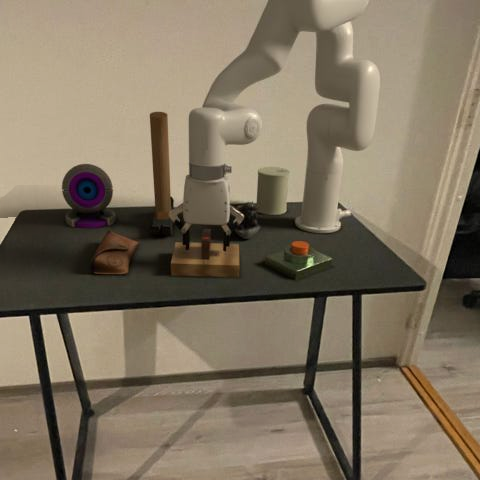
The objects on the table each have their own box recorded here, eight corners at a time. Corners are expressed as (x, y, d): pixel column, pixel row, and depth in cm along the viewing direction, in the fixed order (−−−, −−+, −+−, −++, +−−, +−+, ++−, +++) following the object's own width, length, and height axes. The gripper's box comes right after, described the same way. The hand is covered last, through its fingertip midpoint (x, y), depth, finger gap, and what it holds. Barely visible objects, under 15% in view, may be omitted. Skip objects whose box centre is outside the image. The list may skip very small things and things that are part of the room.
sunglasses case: (130, 273, 117) (112, 248, 114) (103, 287, 119) (85, 263, 115) (140, 241, 133) (124, 219, 129) (116, 254, 134) (100, 232, 131)
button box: (300, 252, 132) (301, 237, 130) (331, 266, 126) (333, 251, 123) (264, 264, 125) (266, 248, 123) (295, 280, 119) (297, 263, 117)
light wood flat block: (238, 255, 129) (238, 243, 127) (238, 277, 119) (239, 264, 117) (175, 253, 128) (175, 241, 127) (171, 275, 118) (170, 262, 116)
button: (299, 246, 126) (300, 239, 125) (311, 252, 123) (312, 245, 122) (287, 250, 123) (288, 243, 123) (299, 256, 121) (300, 249, 120)
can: (290, 214, 156) (293, 173, 149) (259, 215, 154) (261, 173, 148) (282, 204, 163) (285, 164, 157) (252, 205, 162) (254, 165, 156)
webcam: (65, 229, 139) (57, 171, 131) (66, 213, 149) (59, 158, 142) (116, 227, 142) (111, 170, 134) (114, 211, 152) (110, 157, 145)
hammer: (171, 247, 137) (167, 132, 117) (151, 246, 137) (143, 131, 117) (174, 207, 152) (171, 99, 132) (157, 207, 152) (150, 99, 132)
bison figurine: (227, 226, 145) (228, 190, 140) (252, 225, 147) (254, 189, 141) (236, 243, 135) (238, 205, 130) (263, 242, 137) (266, 204, 131)
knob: (203, 246, 125) (203, 227, 123) (210, 247, 125) (210, 227, 123) (201, 259, 119) (201, 239, 116) (209, 259, 119) (209, 239, 117)
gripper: (247, 168, 116) (244, 243, 125) (167, 165, 115) (169, 241, 124) (248, 177, 109) (244, 256, 118) (163, 174, 109) (166, 254, 118)
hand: (206, 248), depth 121 cm, fingers open, 7 cm apart
